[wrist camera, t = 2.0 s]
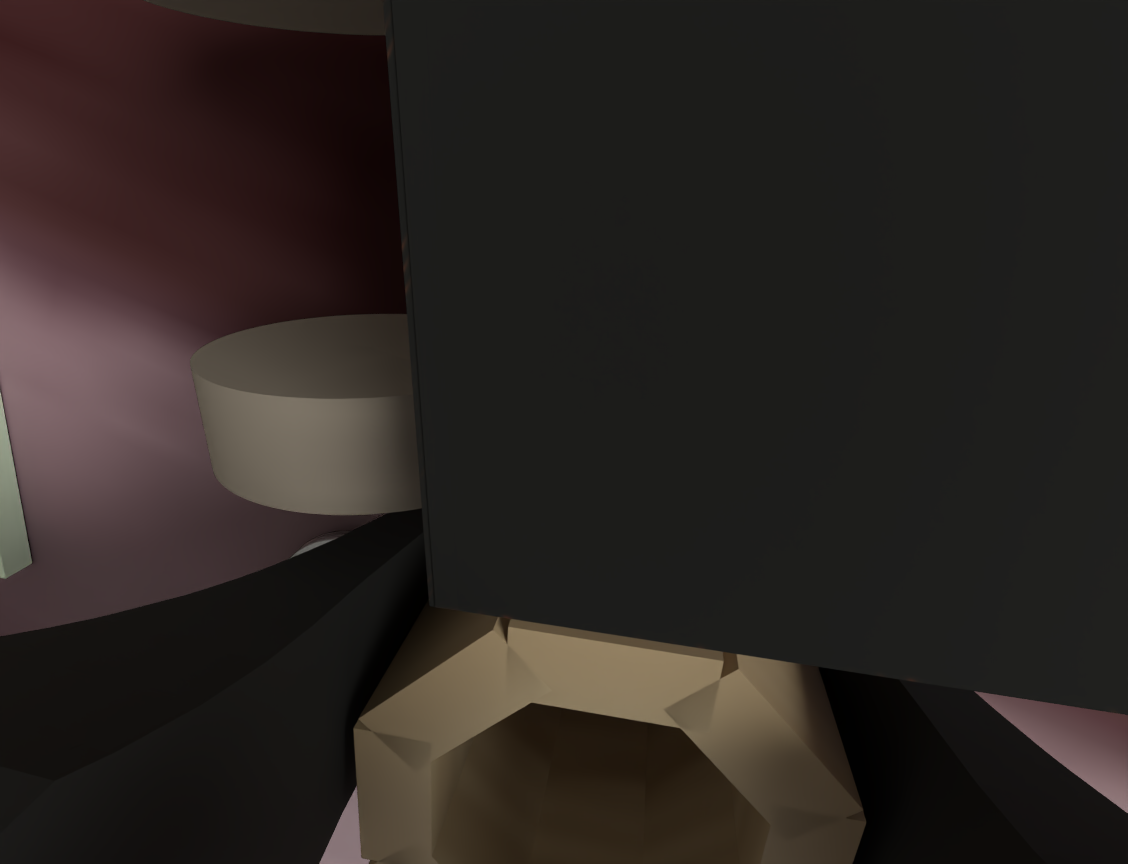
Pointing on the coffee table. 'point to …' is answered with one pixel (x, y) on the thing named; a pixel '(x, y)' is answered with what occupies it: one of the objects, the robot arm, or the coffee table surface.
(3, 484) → the pad
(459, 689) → the maple ring
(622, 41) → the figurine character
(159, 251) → the coffee table surface
